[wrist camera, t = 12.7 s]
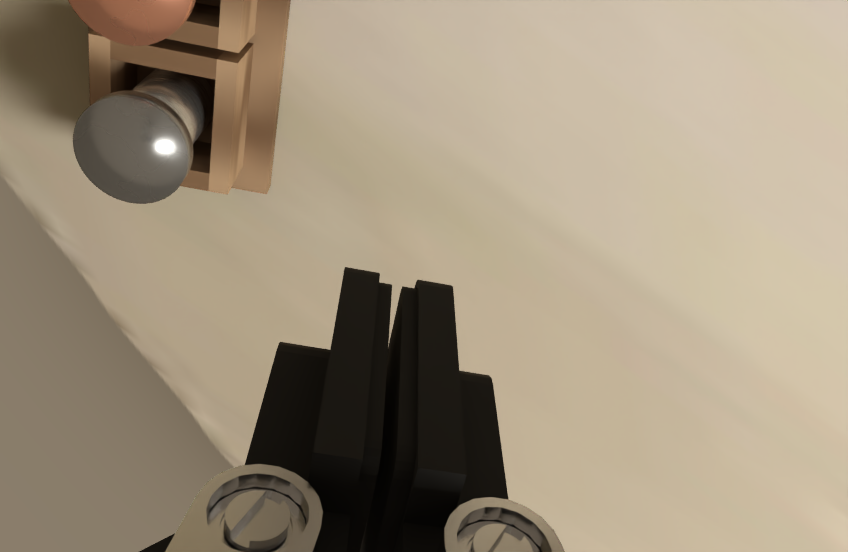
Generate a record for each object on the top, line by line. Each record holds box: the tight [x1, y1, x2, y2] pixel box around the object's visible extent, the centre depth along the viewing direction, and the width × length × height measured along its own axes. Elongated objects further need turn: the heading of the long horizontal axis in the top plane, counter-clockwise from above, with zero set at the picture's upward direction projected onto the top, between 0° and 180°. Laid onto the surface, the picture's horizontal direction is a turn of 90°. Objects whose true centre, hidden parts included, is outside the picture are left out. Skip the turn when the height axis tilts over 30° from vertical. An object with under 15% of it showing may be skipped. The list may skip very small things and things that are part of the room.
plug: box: [73, 68, 215, 204], centre depth 37 cm, size 5×5×8 cm
